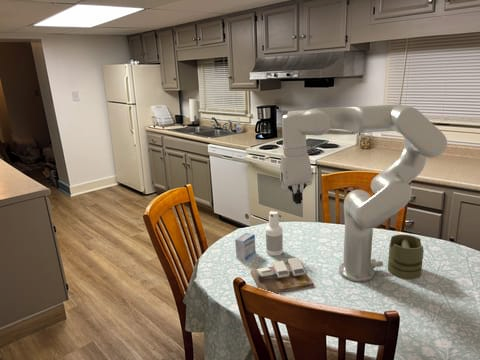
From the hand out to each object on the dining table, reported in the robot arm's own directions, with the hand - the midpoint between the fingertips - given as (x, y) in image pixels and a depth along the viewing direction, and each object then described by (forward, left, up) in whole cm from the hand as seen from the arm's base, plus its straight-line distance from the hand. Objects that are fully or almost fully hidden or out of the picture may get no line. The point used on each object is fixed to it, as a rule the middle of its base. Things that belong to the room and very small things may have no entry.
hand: (297, 202), depth 127 cm
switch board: (+7, 0, -29) cm, 30 cm away
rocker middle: (+7, 0, -25) cm, 26 cm away
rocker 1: (+13, 0, -25) cm, 28 cm away
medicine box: (+15, -21, -29) cm, 39 cm away
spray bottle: (+3, -20, -29) cm, 35 cm away
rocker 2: (+1, 0, -25) cm, 25 cm away
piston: (-38, +8, -29) cm, 49 cm away
